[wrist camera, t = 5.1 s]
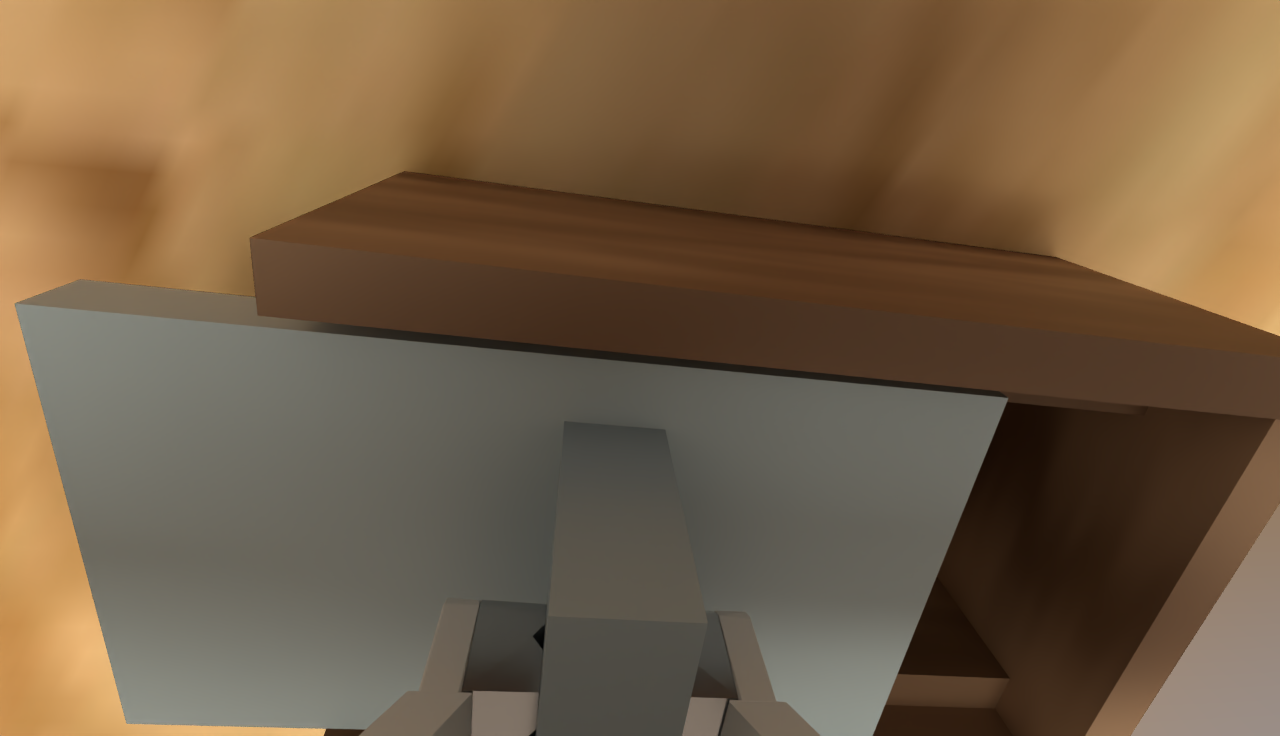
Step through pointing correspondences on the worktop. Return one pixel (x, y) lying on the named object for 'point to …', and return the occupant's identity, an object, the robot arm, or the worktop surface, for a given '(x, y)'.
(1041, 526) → the lid box
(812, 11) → the worktop surface
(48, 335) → the lid
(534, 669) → the robot arm
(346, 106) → the worktop surface
